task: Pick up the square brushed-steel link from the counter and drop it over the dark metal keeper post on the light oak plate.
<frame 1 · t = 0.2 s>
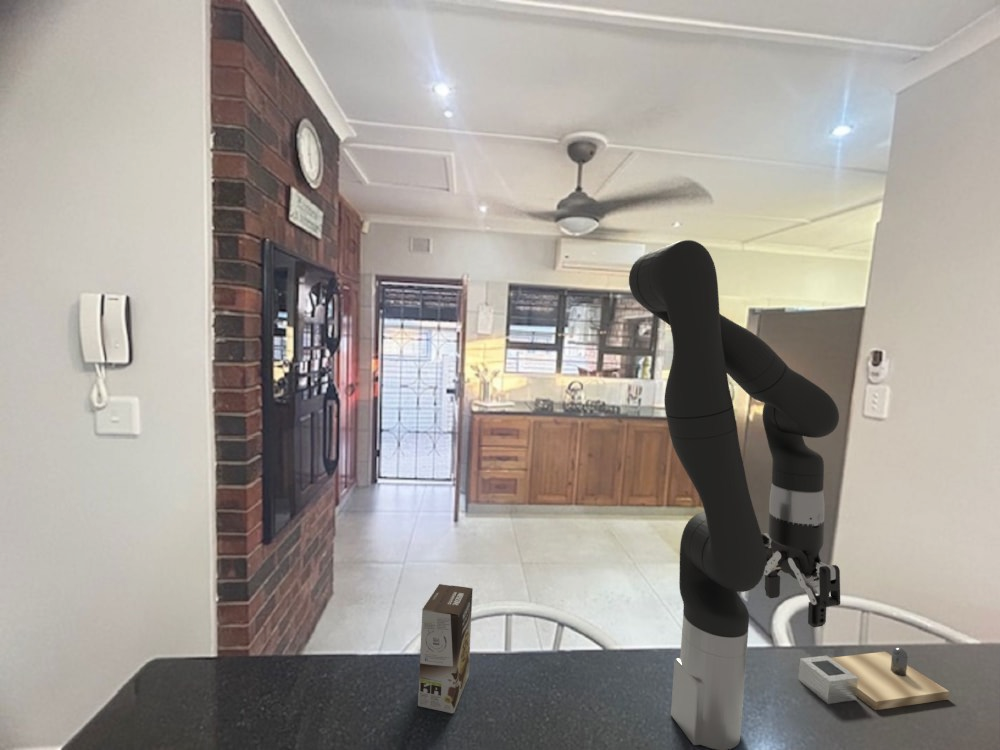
hand: (793, 610, 76), 17 cm above the countertop, tool pointing down, fingers open, 8 cm apart
coffee box: (444, 692, 79), on the countertop
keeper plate: (880, 682, 86), on the countertop
steel link: (826, 689, 83), on the countertop
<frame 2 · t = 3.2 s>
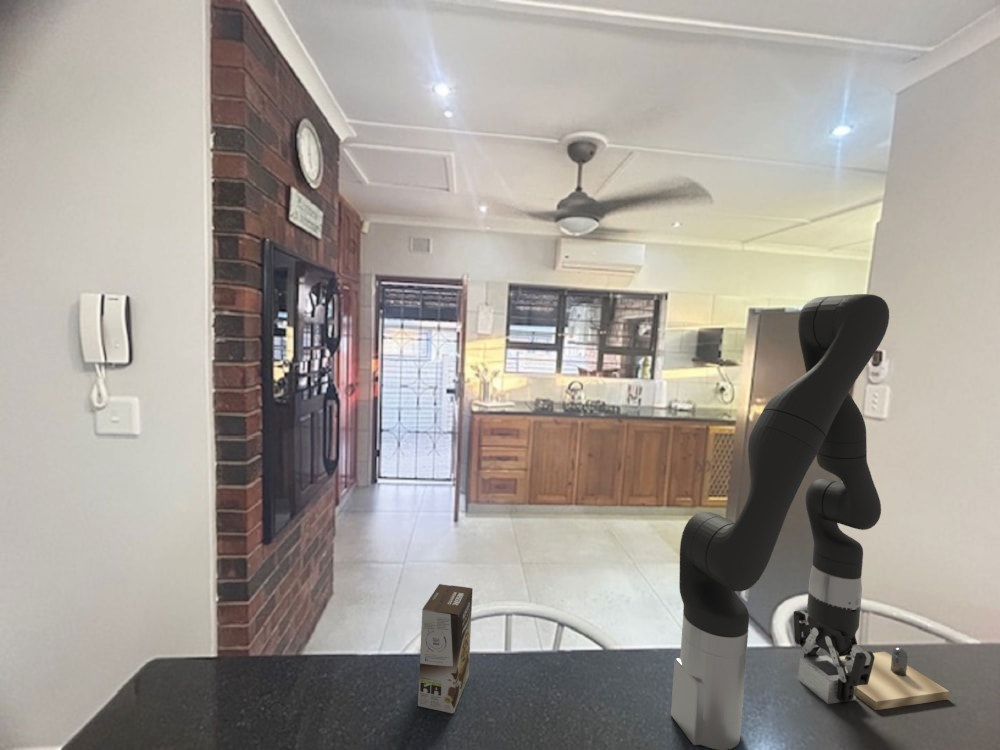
hand: (826, 686, 83), 1 cm above the countertop, tool pointing down, fingers closed on steel link, 6 cm apart
steel link: (826, 689, 83), on the countertop, touching gripper
everything else where it was.
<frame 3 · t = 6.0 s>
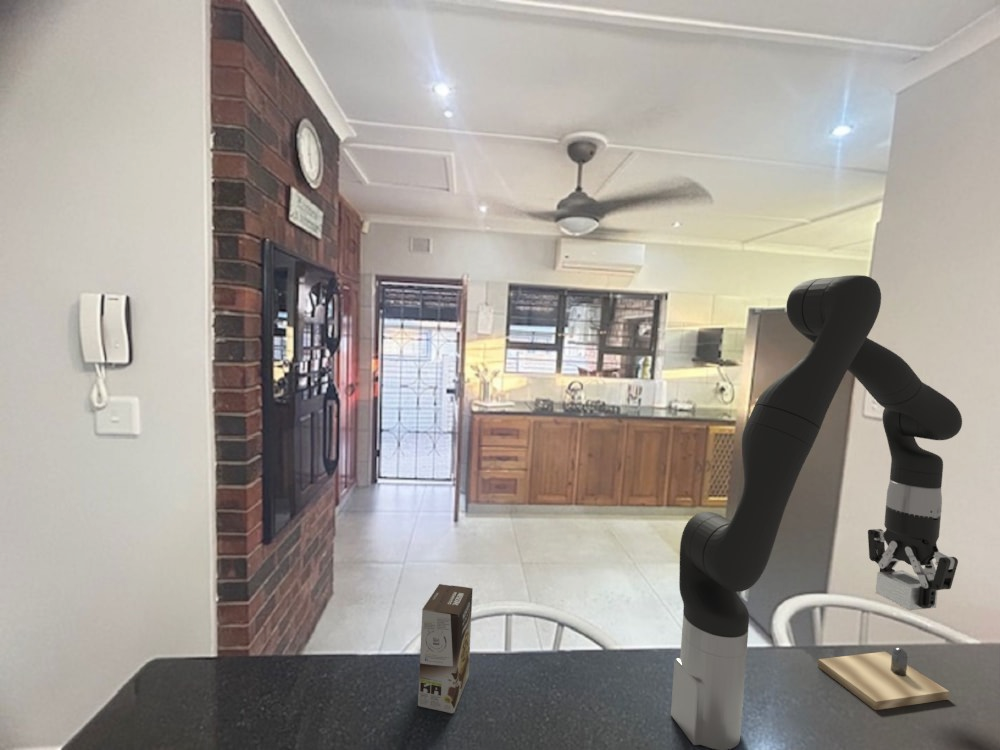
hand: (905, 597, 86), 16 cm above the countertop, tool pointing down, fingers closed on steel link, 6 cm apart
steel link: (905, 600, 86), point 15 cm above the countertop, touching gripper
everything else where it was.
when the fingers open (3 cm above the countertop, at t = 8.8 s): steel link stays where it is, resting on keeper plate.
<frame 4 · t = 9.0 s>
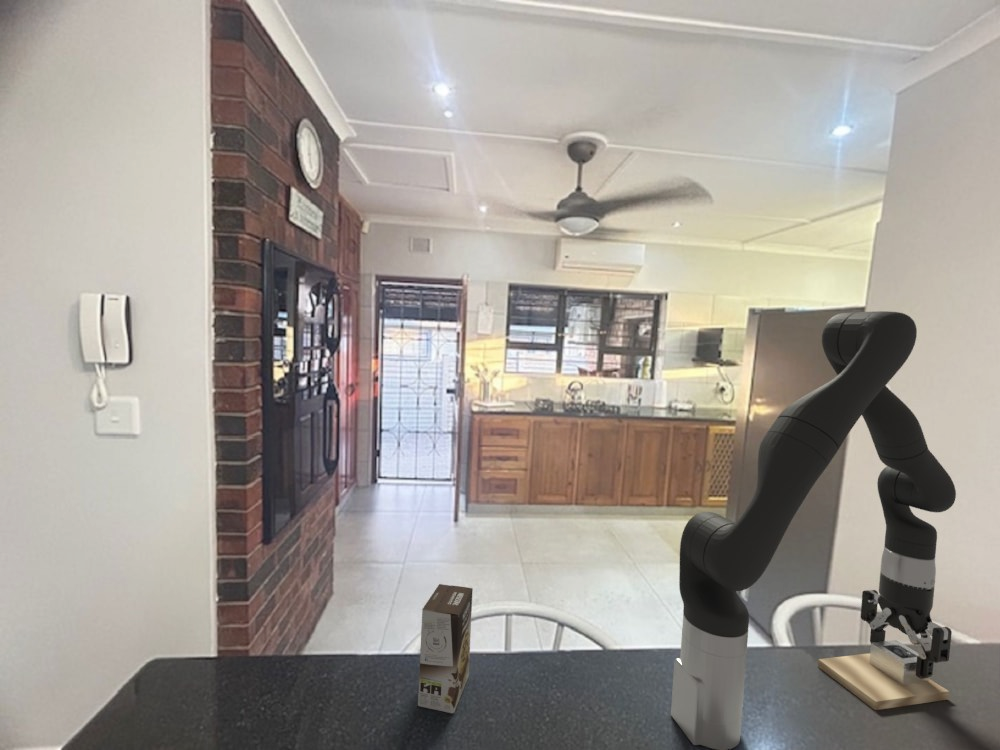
hand: (899, 662, 86), 3 cm above the countertop, tool pointing down, fingers open, 7 cm apart
steel link: (898, 672, 86), point 1 cm above the countertop, touching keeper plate
everything else where it was.
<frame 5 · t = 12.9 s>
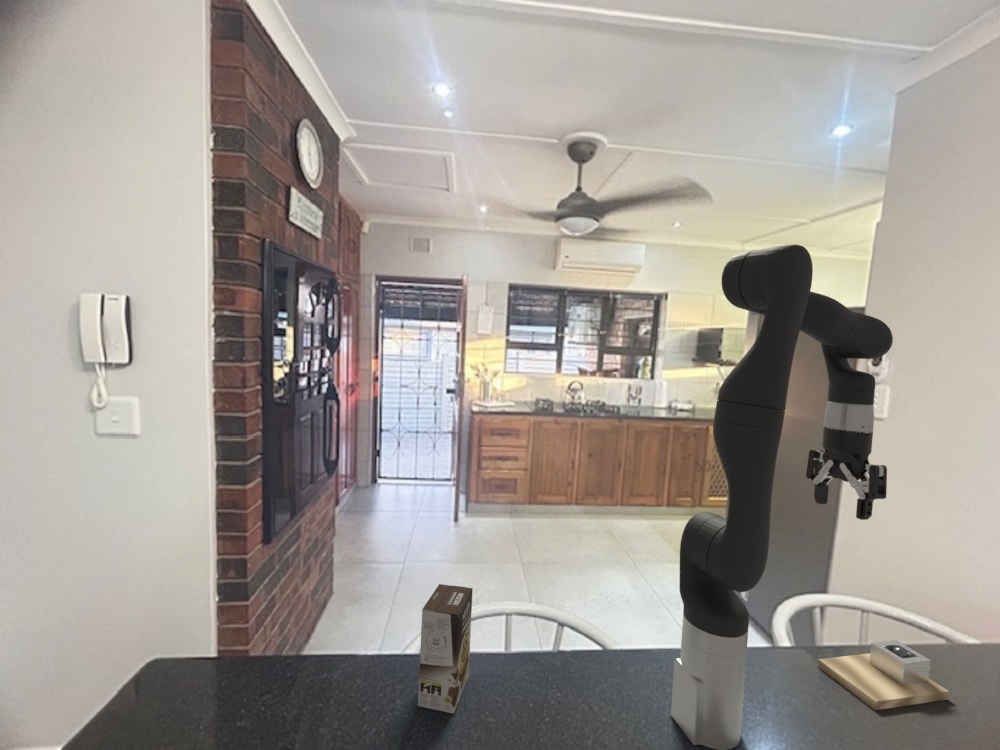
hand: (841, 510, 89), 30 cm above the countertop, tool pointing down, fingers open, 8 cm apart
nothing on the countertop moved.
at the end: steel link 0.0 cm from the target spot on the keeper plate, point 1.5 cm above the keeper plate's base; the gripper is holding nothing; steel link tilted 0° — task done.
